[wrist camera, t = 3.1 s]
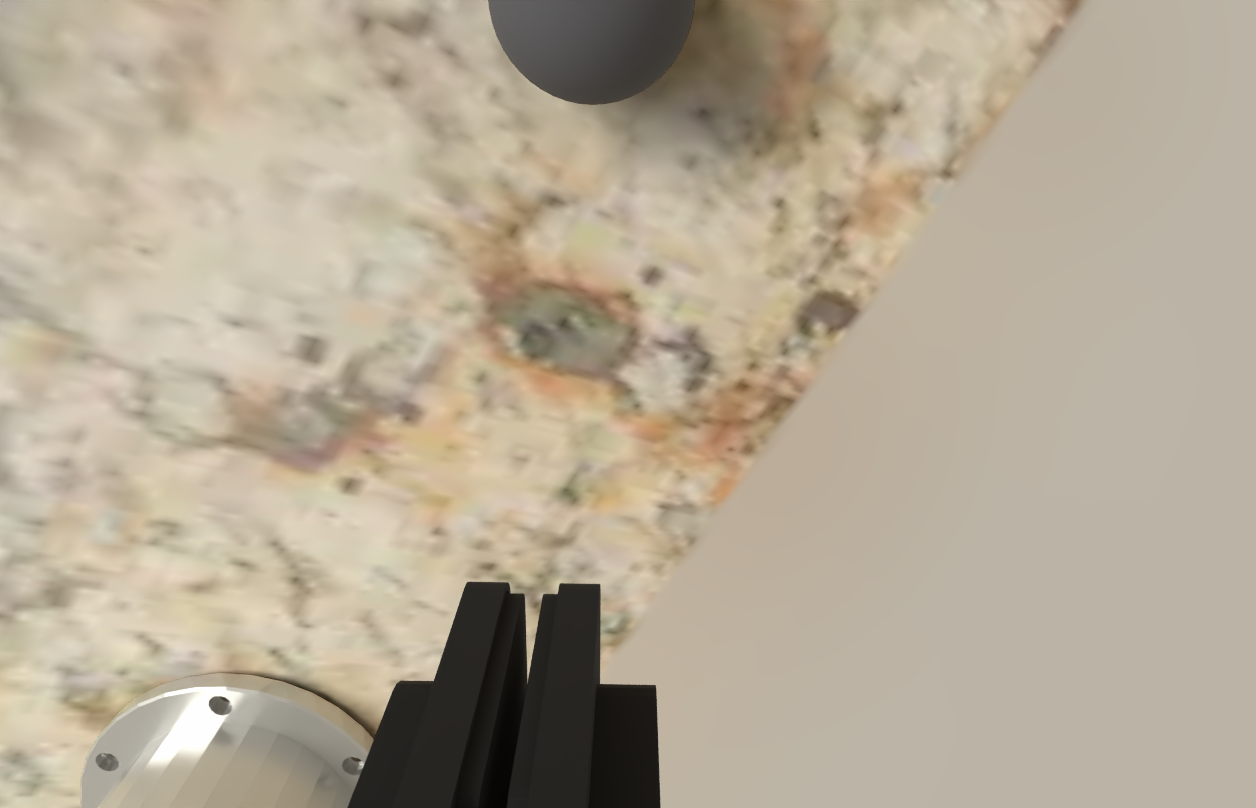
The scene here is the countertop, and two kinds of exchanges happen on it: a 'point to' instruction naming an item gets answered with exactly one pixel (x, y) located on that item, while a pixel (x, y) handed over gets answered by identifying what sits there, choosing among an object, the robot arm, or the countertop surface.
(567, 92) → the dark gray ball
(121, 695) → the countertop surface
